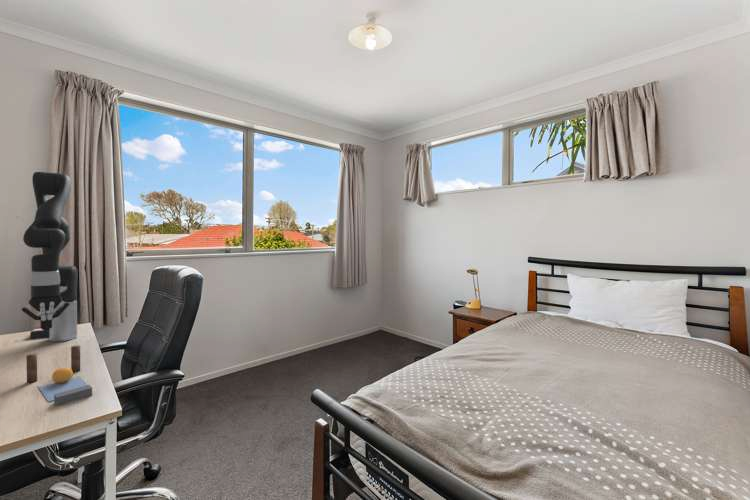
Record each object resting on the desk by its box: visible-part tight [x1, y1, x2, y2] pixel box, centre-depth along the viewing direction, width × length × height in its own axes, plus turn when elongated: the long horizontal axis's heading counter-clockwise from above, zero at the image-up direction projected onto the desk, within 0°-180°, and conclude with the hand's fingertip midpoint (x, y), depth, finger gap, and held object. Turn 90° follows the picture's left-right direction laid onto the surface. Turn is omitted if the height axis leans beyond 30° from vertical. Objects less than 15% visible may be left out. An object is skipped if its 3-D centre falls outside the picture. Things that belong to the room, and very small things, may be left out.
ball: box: [51, 366, 74, 383], centre depth 108 cm, size 5×5×5 cm
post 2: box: [70, 344, 81, 374], centre depth 116 cm, size 2×2×9 cm
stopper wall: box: [53, 384, 93, 407], centre depth 98 cm, size 3×8×2 cm, turn 145°
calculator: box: [29, 325, 49, 340], centre depth 155 cm, size 11×4×15 cm
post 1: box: [25, 353, 38, 384], centre depth 107 cm, size 2×2×9 cm
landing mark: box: [38, 376, 88, 403], centre depth 104 cm, size 14×10×1 cm
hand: (46, 329), depth 119 cm, fingers closed
